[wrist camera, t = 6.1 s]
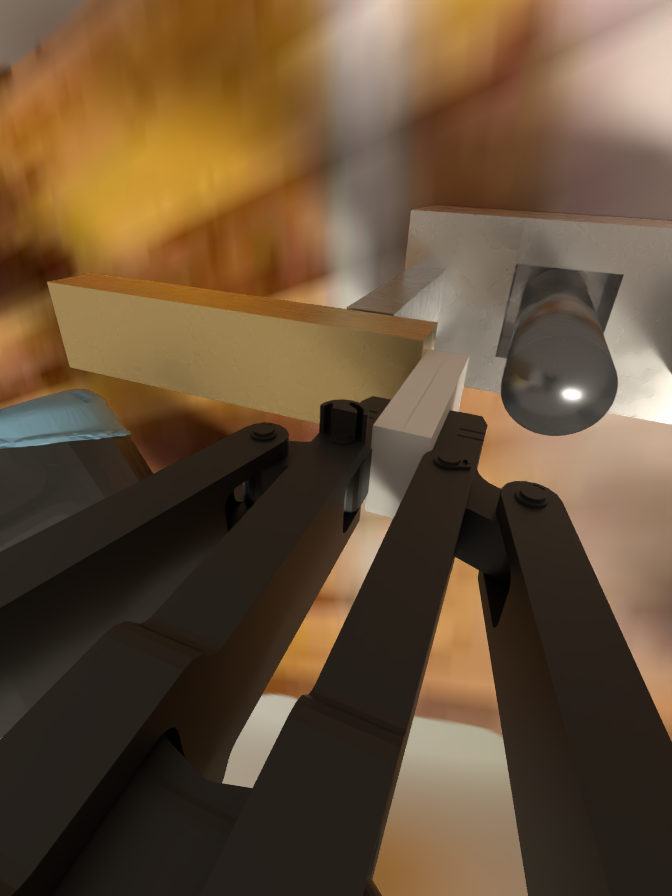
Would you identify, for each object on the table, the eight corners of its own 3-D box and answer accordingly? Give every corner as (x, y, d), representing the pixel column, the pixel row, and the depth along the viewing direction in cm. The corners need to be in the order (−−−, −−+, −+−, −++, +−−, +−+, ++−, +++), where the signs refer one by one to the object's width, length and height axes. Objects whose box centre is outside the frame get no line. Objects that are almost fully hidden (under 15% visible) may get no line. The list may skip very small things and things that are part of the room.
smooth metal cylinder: (514, 326, 32) (491, 424, 19) (529, 265, 30) (514, 328, 17) (577, 335, 31) (597, 445, 18) (597, 272, 29) (635, 345, 16)
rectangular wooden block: (109, 351, 25) (69, 367, 23) (91, 272, 23) (46, 281, 21) (423, 416, 19) (409, 444, 17) (438, 322, 17) (423, 340, 15)
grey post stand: (416, 344, 37) (329, 451, 23) (435, 204, 32) (338, 224, 17) (672, 385, 32) (777, 560, 17) (744, 225, 27) (982, 278, 12)
